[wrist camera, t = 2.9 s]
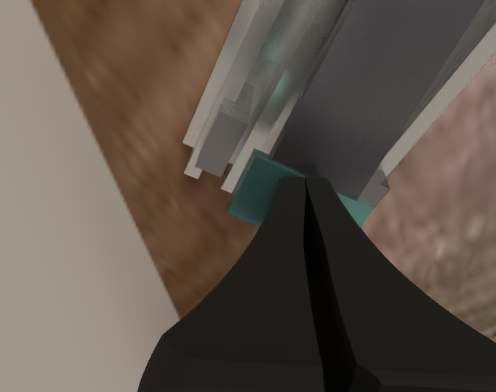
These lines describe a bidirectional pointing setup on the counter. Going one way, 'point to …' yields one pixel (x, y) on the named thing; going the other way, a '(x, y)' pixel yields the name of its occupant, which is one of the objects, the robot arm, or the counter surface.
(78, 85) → the counter surface
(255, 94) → the heat sink
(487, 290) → the counter surface
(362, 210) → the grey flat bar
